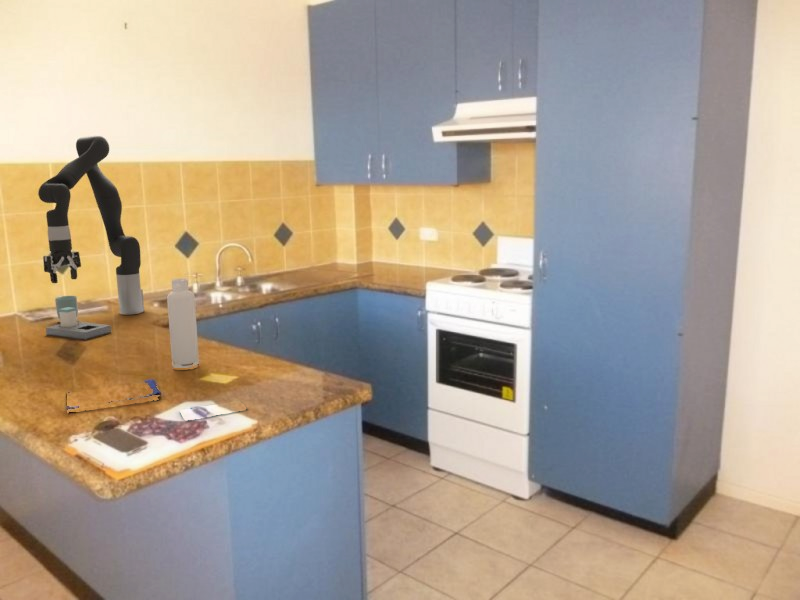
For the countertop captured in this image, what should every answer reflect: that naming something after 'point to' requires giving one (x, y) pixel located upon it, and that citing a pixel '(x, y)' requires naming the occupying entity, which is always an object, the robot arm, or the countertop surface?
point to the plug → (68, 317)
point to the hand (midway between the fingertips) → (64, 281)
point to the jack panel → (79, 331)
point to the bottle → (182, 325)
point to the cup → (66, 303)
